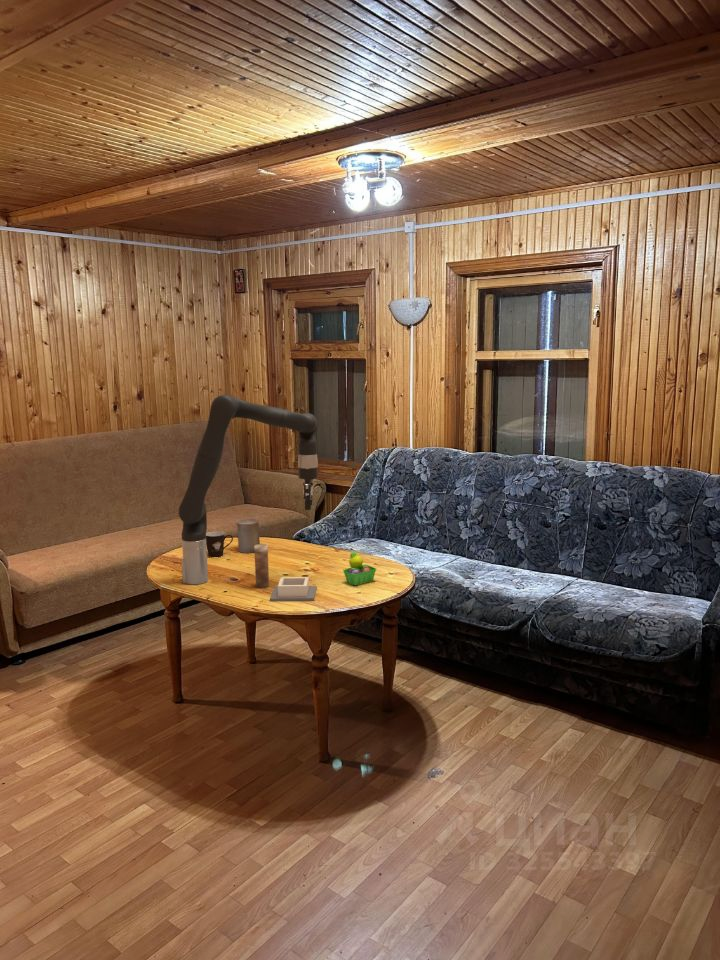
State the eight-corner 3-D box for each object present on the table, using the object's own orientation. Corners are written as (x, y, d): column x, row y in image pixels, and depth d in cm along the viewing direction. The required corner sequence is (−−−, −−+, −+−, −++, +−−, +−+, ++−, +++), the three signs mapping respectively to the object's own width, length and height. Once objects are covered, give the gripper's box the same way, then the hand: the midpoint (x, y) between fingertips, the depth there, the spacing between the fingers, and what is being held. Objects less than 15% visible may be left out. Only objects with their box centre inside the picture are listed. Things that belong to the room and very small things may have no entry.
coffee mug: (203, 558, 318) (202, 536, 317) (208, 553, 327) (207, 531, 325) (230, 558, 318) (229, 536, 316) (234, 552, 327) (233, 531, 325)
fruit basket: (353, 587, 278) (353, 558, 276) (340, 581, 285) (340, 553, 283) (377, 581, 284) (377, 553, 282) (364, 576, 292) (363, 548, 290)
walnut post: (255, 588, 278) (253, 547, 275) (256, 584, 282) (255, 544, 280) (268, 588, 278) (266, 547, 275) (269, 584, 282) (268, 544, 280)
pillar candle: (262, 547, 335) (260, 515, 332) (257, 553, 325) (255, 520, 322) (241, 547, 336) (239, 515, 333) (235, 553, 326) (234, 520, 323)
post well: (269, 601, 263) (269, 587, 262) (274, 588, 277) (274, 576, 276) (314, 600, 263) (313, 587, 262) (316, 588, 277) (316, 575, 276)
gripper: (299, 463, 286) (300, 503, 289) (296, 468, 272) (297, 511, 275) (318, 463, 286) (319, 503, 289) (316, 468, 272) (317, 511, 275)
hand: (308, 507), depth 282 cm, fingers open, 8 cm apart
